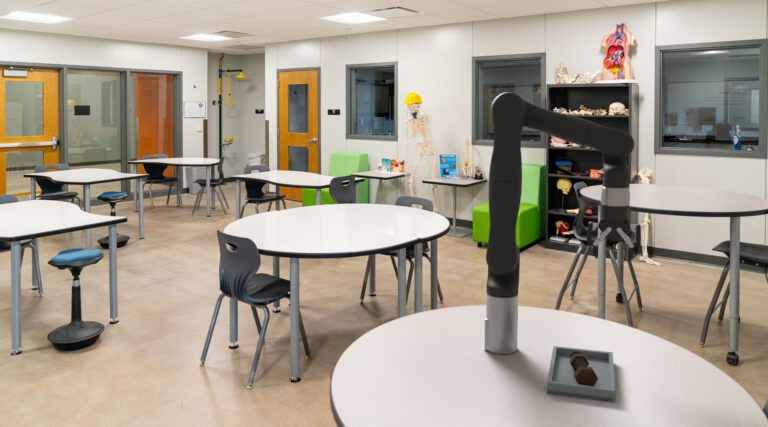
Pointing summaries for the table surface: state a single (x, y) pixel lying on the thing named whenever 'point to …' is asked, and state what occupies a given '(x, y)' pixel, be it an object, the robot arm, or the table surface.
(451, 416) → the table surface
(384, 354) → the table surface
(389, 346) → the table surface
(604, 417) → the table surface
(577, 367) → the bolt
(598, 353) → the tray
